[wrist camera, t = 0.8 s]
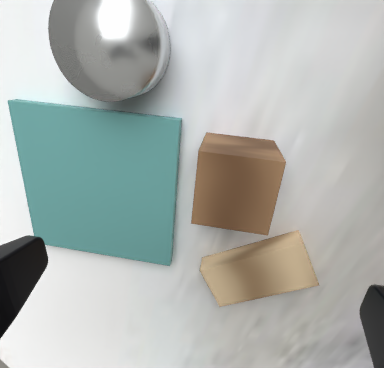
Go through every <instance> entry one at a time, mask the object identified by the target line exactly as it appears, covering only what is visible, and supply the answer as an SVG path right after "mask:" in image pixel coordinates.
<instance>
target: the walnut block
mask: <svg viewBox="0 0 384 368" xmlns="http://www.w3.org/2000/svg"><path fill="white" fill-rule="evenodd" d="M285 164H286V161H285V159H284V158H283V156H282V154H281V152H280V150H279V149H278V147H277V145H276V143H275V141H273V140H265V139H256V138H248V137H240V136H231V135H223V134H215V133H206V135H205V137H204V140H203V142H202V144H201V147H200V149H199V152H198V162H197V172H196V181H195V191H194V201H193V211H192V221H191V224H198V225H204V226H211V227H217V228H224V229H230V230H237V231H243V232H249V233H256V234H262V235H268V233H269V229H270V225H271V221H272V217H273V213H274V209H275V205H276V201H277V197H278V193H279V189H280V185H281V180H282V176H283V172H284V168H285Z"/></svg>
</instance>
